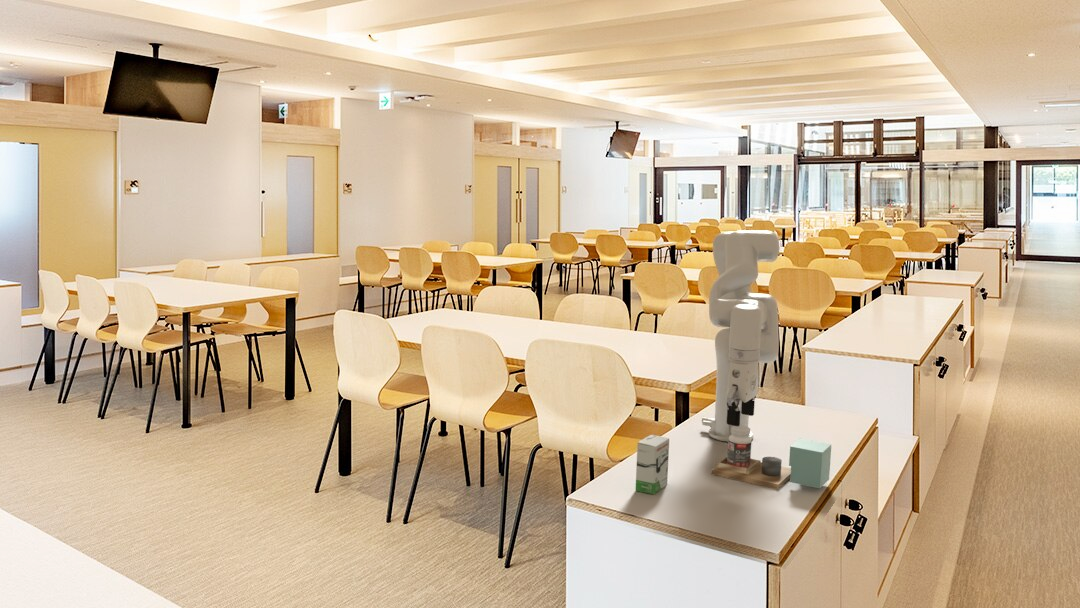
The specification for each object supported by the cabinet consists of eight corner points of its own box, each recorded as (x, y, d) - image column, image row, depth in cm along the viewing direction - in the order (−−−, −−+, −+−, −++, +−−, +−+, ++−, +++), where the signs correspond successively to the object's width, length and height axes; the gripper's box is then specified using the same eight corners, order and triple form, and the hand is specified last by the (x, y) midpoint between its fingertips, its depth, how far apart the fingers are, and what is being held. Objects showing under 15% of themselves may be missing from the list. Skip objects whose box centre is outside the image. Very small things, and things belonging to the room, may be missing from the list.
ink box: (653, 495, 194) (655, 446, 192) (634, 490, 197) (636, 442, 195) (668, 484, 201) (670, 436, 200) (649, 480, 204) (651, 433, 202)
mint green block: (788, 481, 200) (790, 446, 199) (797, 472, 206) (800, 438, 205) (820, 488, 196) (822, 452, 195) (829, 479, 202) (831, 444, 201)
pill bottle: (736, 471, 208) (739, 432, 206) (722, 463, 213) (724, 426, 211) (754, 467, 210) (756, 429, 209) (739, 460, 215) (741, 423, 214)
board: (711, 474, 209) (712, 456, 208) (730, 460, 219) (731, 443, 218) (778, 489, 199) (779, 470, 198) (795, 473, 210) (796, 455, 209)
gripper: (745, 364, 198) (742, 432, 201) (770, 349, 212) (766, 413, 215) (716, 359, 202) (712, 426, 205) (742, 345, 216) (738, 408, 219)
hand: (740, 419), depth 210 cm, fingers open, 9 cm apart
